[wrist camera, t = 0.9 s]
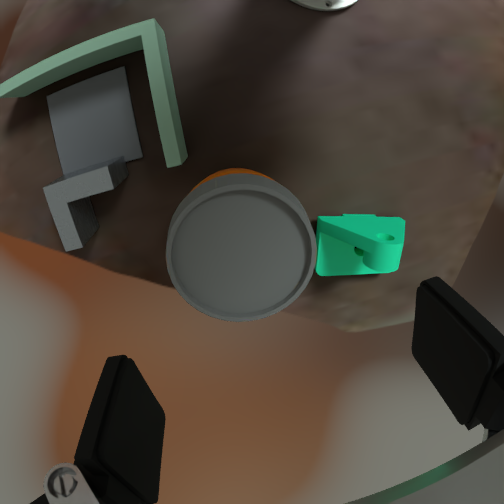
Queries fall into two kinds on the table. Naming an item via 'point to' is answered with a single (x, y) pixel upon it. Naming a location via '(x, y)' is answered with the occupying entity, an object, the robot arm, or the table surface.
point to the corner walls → (106, 49)
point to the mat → (94, 121)
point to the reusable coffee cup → (240, 246)
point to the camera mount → (358, 244)
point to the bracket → (81, 199)
